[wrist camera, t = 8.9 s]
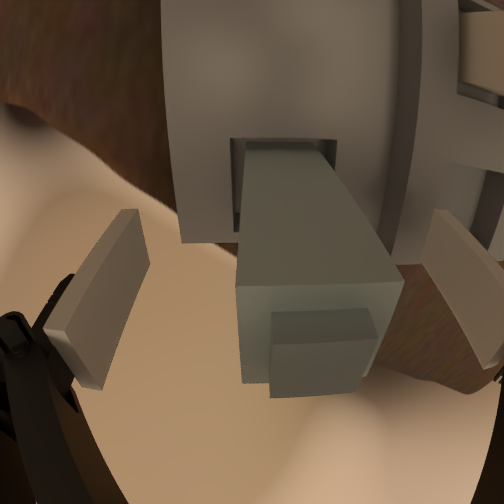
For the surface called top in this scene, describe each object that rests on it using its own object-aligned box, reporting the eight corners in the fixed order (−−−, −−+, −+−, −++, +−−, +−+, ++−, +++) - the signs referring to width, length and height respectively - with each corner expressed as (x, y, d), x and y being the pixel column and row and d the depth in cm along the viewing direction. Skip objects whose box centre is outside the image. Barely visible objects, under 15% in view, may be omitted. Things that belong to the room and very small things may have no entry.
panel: (174, -16, 12) (145, -42, 8) (494, 34, 12) (546, 39, 7) (190, 220, 21) (173, 267, 16) (466, 222, 21) (502, 260, 16)
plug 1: (246, 141, 18) (233, 319, 6) (312, 142, 17) (420, 310, 6) (247, 202, 20) (241, 410, 8) (309, 201, 20) (372, 401, 8)
